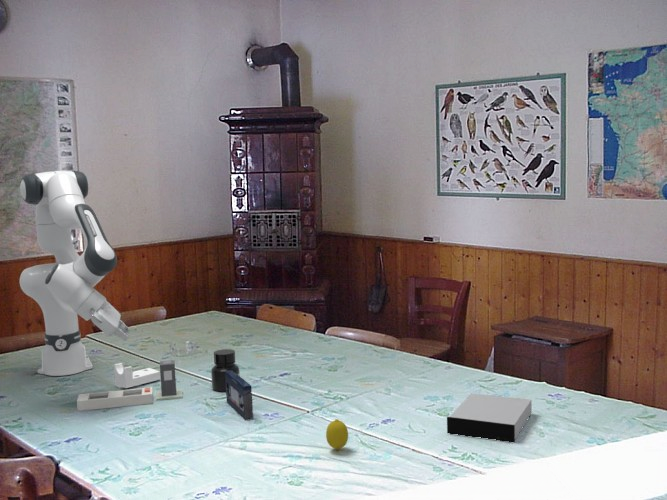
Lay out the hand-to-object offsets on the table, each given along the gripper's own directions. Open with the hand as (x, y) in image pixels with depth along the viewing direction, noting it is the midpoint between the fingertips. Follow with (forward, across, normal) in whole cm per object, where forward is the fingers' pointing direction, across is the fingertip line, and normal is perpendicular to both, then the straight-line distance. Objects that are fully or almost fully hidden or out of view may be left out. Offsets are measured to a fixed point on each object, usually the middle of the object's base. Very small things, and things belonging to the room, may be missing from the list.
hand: (127, 335), depth 236 cm
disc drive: (+83, -53, -53) cm, 112 cm away
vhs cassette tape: (+37, -21, -8) cm, 43 cm away
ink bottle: (+35, +2, -6) cm, 36 cm away
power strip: (+11, -3, +18) cm, 21 cm away
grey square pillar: (+22, 0, +6) cm, 23 cm away
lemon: (+52, -59, -22) cm, 82 cm away
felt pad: (+22, 0, +6) cm, 23 cm away
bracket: (+16, +17, +14) cm, 27 cm away
